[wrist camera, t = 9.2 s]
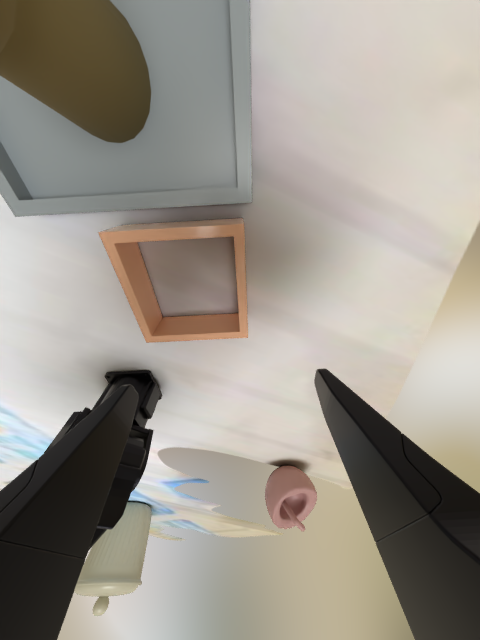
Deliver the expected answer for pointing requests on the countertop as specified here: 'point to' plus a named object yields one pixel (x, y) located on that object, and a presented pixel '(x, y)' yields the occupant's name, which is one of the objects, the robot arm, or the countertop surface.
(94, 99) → the olive tapered piece
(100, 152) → the tray
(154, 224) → the holder
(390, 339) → the countertop surface
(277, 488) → the mortar and pestle
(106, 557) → the canister
